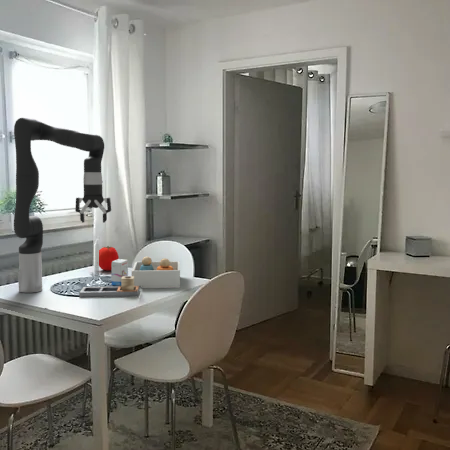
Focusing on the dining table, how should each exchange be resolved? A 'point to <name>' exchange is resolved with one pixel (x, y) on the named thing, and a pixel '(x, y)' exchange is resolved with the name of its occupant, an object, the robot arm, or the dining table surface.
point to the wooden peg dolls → (146, 266)
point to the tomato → (107, 257)
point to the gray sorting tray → (108, 292)
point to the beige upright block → (127, 283)
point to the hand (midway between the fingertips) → (93, 222)
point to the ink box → (119, 270)
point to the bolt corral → (157, 276)
